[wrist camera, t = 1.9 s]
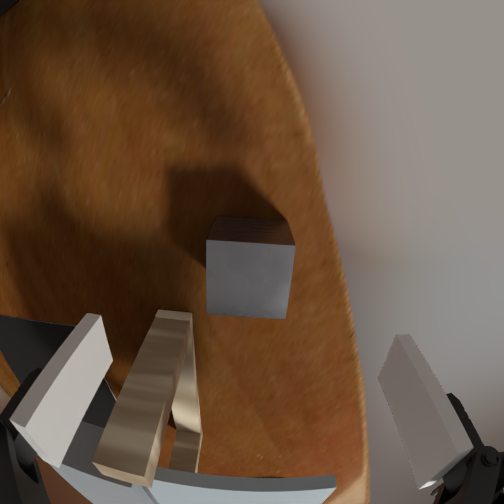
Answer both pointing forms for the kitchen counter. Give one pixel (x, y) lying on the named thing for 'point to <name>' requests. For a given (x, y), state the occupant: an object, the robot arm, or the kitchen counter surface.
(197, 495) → the trapdoor
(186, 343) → the frame
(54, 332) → the tablet
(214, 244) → the block
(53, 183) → the kitchen counter surface
